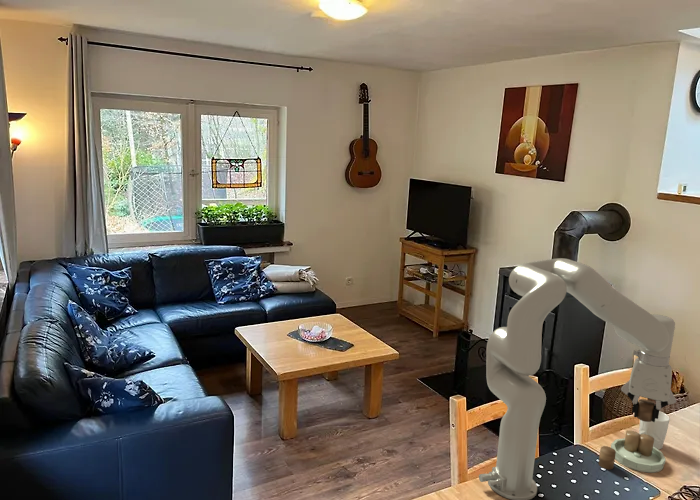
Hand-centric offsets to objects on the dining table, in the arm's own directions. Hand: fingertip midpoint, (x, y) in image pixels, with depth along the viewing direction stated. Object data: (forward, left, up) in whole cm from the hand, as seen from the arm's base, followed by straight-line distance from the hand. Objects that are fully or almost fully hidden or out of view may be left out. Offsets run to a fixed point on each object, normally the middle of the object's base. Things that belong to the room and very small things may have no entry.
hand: (644, 417), depth 153 cm
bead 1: (-10, +2, -15) cm, 18 cm away
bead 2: (0, 0, 0) cm, 0 cm away
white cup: (+13, +9, -15) cm, 22 cm away
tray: (+2, +3, -15) cm, 16 cm away
